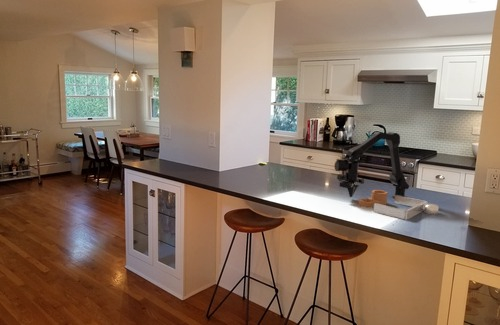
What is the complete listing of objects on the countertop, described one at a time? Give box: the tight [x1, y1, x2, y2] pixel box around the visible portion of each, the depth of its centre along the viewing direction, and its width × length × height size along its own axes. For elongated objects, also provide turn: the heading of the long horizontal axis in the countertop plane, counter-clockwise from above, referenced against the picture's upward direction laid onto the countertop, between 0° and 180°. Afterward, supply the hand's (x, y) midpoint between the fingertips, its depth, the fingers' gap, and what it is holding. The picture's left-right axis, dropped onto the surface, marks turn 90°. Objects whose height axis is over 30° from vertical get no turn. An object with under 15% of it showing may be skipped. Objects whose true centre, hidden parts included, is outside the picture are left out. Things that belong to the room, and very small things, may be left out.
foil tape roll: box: [423, 203, 439, 215], centre depth 197 cm, size 6×6×4 cm
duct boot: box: [373, 194, 428, 221], centre depth 199 cm, size 26×17×4 cm, turn 136°
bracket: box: [357, 189, 388, 208], centre depth 209 cm, size 18×8×7 cm, turn 117°
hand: (350, 197), depth 219 cm, fingers closed
